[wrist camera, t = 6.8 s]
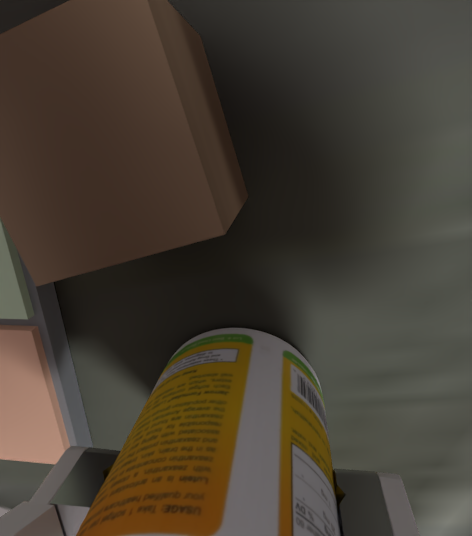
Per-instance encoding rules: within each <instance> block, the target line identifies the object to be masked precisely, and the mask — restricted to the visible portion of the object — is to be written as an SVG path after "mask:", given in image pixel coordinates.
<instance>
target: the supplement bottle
mask: <svg viewBox="0 0 472 536" xmlns="http://www.w3.org/2000/svg"><path fill="white" fill-rule="evenodd" d="M76 536H341V532H340V524H339V516H338V507H337V500H336V492H335V484H334V476H333V467H332V460H331V452H330V445H329V437H328V428H327V421H326V414H325V407H324V401H323V395H322V391H321V387H320V383H319V381H318V378H317V376H316V374H315V372H314V370H313V369H312V367H311V366H310V364H309V363H308V362H307V360H306V359H305V358H304V357H303V356H302V355H301V354H300V353H299V352H298V351H297V350H296V349H295V348H294V347H292V346H291V345H290V344H288V343H287V342H285V341H283V340H282V339H280V338H278V337H275V336H273V335H271V334H268V333H265V332H262V331H258V330H253V329H246V328H223V329H217V330H212V331H209V332H205V333H202V334H200V335H198V336H196V337H194V338H192V339H190V340H189V341H187V342H186V343H185V344H183V345H182V346H181V347H180V348H179V349H178V350H177V351H176V352H175V353H174V355H173V356H172V357H171V359H170V360H169V362H168V364H167V365H166V367H165V369H164V370H163V372H162V374H161V376H160V377H159V379H158V381H157V383H156V385H155V387H154V389H153V391H152V393H151V395H150V397H149V399H148V400H147V402H146V404H145V406H144V408H143V410H142V412H141V414H140V416H139V417H138V419H137V421H136V423H135V425H134V427H133V429H132V431H131V433H130V434H129V436H128V438H127V440H126V442H125V444H124V446H123V448H122V450H121V452H120V454H119V456H118V457H117V459H116V461H115V463H114V465H113V467H112V469H111V471H110V473H109V474H108V476H107V478H106V480H105V482H104V484H103V485H102V487H101V489H100V491H99V493H98V494H97V496H96V498H95V500H94V502H93V504H92V506H91V508H90V509H89V511H88V513H87V515H86V517H85V519H84V521H83V522H82V524H81V526H80V528H79V531H78V533H77V534H76Z"/></svg>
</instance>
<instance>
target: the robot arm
mask: <svg viewBox="0 0 472 536" xmlns="http://www.w3.org/2000/svg"><path fill="white" fill-rule="evenodd" d="M120 452H121V451H116V450H108V449H99V448H91V447H80V446H71V447H69V448H68V449H67V450H66V451H65V452H64V453H63V455H62V456H61V457H60V459H59V460H58V462H57V463H56V464H55V466H54V467H53V469H52V470H51V472H50V473H49V474H48V476H47V477H46V479H45V480H44V481H43V483H42V484H41V486H40V487H39V488H38V490H37V491H36V493H35V494H34V495H33V497H32V498H31V500H30V501H29V502H22V503H21V504H19V505H18V506H16V507H15V508H13V509H12V510H10V511H9V512H7V513H6V514H4V515H3V516H1V517H0V536H76V534H77V533H78V531H79V528H80V526H81V524H82V522H83V521H84V519H85V517H86V515H87V513H88V511H89V509H90V508H91V506H92V504H93V502H94V500H95V498H96V496H97V494H98V493H99V491H100V489H101V487H102V485H103V484H104V482H105V480H106V478H107V476H108V474H109V473H110V471H111V469H112V467H113V465H114V463H115V461H116V459H117V457H118V456H119V454H120ZM333 476H334V484H335V492H336V500H337V507H338V516H339V524H340V532H341V536H420V534H419V531H418V528H417V525H416V522H415V519H414V516H413V513H412V509H411V506H410V503H409V500H408V497H407V494H406V491H405V488H404V485H403V482H402V479H401V477H400V476H399V475H398V474H392V473H380V472H376V473H375V472H372V471H359V470H345V469H334V470H333Z"/></svg>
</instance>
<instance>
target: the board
mask: <svg viewBox="0 0 472 536" xmlns="http://www.w3.org/2000/svg"><path fill="white" fill-rule="evenodd" d="M71 446H80V447H91V448H92V447H93V444H92V440H91V436H90V432H89V427H88V423H87V419H86V415H85V411H84V407H83V403H82V398H81V394H80V390H79V386H78V382H77V378H76V374H75V369H74V365H73V361H72V357H71V353H70V349H69V345H68V340H67V336H66V332H65V328H64V324H63V320H62V316H61V311H60V307H59V303H58V299H57V295H56V291H55V287H54V282H51V283H47V284H44V285H40V286H36V284H35V283H34V281H33V279H32V277H31V275H30V273H29V271H28V269H27V267H26V265H25V263H24V262H23V260H22V258H21V256H20V254H19V252H18V250H17V248H16V246H15V244H14V243H13V241H12V239H11V237H10V235H9V233H8V231H7V229H6V227H5V225H4V223H3V222H2V220H1V218H0V459H4V460H15V461H25V462H36V463H46V464H56V463H57V462H58V460H59V459H60V457H61V456H62V455H63V453H64V452H65V451H66V450H67V449H68V448H69V447H71Z"/></svg>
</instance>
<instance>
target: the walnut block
mask: <svg viewBox="0 0 472 536" xmlns="http://www.w3.org/2000/svg"><path fill="white" fill-rule="evenodd" d="M248 197H249V196H248V193H247V190H246V186H245V183H244V180H243V176H242V173H241V170H240V166H239V163H238V160H237V156H236V153H235V150H234V146H233V143H232V140H231V136H230V133H229V130H228V126H227V123H226V120H225V116H224V113H223V110H222V106H221V103H220V100H219V96H218V93H217V90H216V87H215V83H214V80H213V77H212V73H211V70H210V67H209V63H208V60H207V57H206V53H205V50H204V47H203V43H202V40H201V37H200V35H199V34H198V33H197V32H196V31H195V30H194V29H193V28H192V27H191V26H190V25H189V24H188V22H187V21H186V20H185V19H184V18H183V17H182V16H181V15H180V14H179V13H178V12H177V11H176V10H175V8H174V7H173V6H172V5H171V4H170V3H169V2H168V1H167V0H69V1H67V2H65V3H63V4H61V5H59V6H57V7H55V8H53V9H51V10H49V11H47V12H45V13H42V14H40V15H38V16H36V17H34V18H32V19H30V20H28V21H26V22H24V23H22V24H20V25H18V26H16V27H14V28H12V29H10V30H8V31H6V32H4V33H1V34H0V218H1V220H2V222H3V223H4V225H5V227H6V229H7V231H8V233H9V235H10V237H11V239H12V241H13V243H14V244H15V246H16V248H17V250H18V252H19V254H20V256H21V258H22V260H23V262H24V263H25V265H26V267H27V269H28V271H29V273H30V275H31V277H32V279H33V281H34V283H35V284H36V286H40V285H44V284H47V283H51V282H55V281H58V280H62V279H66V278H69V277H73V276H76V275H80V274H84V273H87V272H91V271H95V270H98V269H102V268H105V267H109V266H113V265H116V264H120V263H124V262H127V261H131V260H134V259H138V258H142V257H145V256H149V255H153V254H156V253H160V252H163V251H167V250H171V249H174V248H178V247H182V246H185V245H189V244H192V243H196V242H200V241H203V240H207V239H211V238H214V237H218V236H221V235H225V234H226V232H227V230H228V229H229V227H230V226H231V224H232V222H233V221H234V219H235V218H236V216H237V214H238V213H239V211H240V210H241V208H242V206H243V205H244V203H245V202H246V200H247V198H248Z"/></svg>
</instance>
